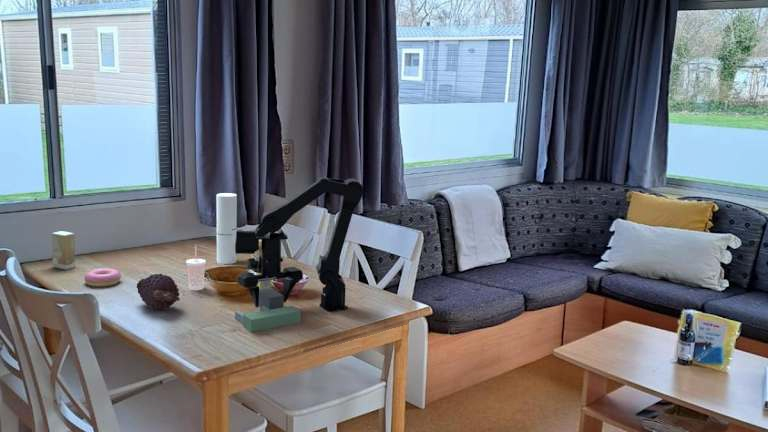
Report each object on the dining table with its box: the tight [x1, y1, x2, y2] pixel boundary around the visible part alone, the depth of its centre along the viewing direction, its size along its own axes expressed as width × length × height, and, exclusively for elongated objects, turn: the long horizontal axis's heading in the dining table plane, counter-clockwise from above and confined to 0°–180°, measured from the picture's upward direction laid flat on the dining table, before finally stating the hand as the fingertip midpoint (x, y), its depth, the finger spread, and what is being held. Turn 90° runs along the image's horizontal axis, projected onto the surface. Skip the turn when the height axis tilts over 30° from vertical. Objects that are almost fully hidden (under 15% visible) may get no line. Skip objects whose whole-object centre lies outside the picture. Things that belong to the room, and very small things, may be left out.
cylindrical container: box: [216, 192, 238, 265], centre depth 246 cm, size 7×7×25 cm
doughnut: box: [83, 267, 122, 288], centre depth 217 cm, size 11×11×4 cm
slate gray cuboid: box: [258, 287, 284, 310], centre depth 199 cm, size 4×8×5 cm, turn 35°
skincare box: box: [51, 230, 76, 270], centre depth 231 cm, size 6×4×12 cm
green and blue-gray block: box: [234, 305, 302, 333], centre depth 189 cm, size 15×12×4 cm
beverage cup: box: [185, 245, 207, 291], centre depth 214 cm, size 6×6×14 cm
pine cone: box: [136, 273, 181, 310], centre depth 195 cm, size 18×10×10 cm, turn 53°
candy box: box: [249, 239, 272, 290], centre depth 220 cm, size 9×4×15 cm, turn 33°
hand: (270, 304), depth 199 cm, fingers open, 9 cm apart
